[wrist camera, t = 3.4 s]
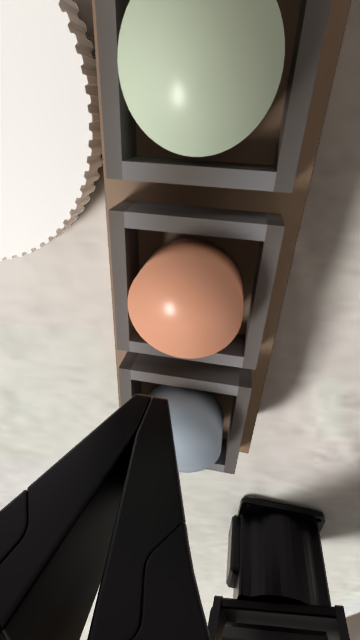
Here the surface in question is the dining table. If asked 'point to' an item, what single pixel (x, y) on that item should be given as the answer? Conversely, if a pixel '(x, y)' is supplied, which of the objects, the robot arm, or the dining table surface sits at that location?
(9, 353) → the dining table surface
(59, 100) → the plastic lid
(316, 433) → the dining table surface
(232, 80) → the sage button
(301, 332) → the dining table surface
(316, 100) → the button panel
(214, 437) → the slate-blue button
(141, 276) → the terracotta button
